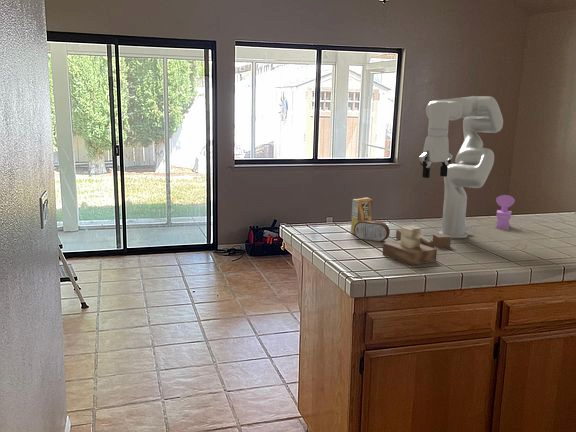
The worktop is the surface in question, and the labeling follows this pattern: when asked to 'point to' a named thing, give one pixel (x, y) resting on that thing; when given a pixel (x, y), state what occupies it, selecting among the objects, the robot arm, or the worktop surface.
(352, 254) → the worktop surface
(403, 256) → the walnut block
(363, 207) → the candy box
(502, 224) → the toy chair
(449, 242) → the wooden block set
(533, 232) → the worktop surface
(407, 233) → the maple block
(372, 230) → the tin
